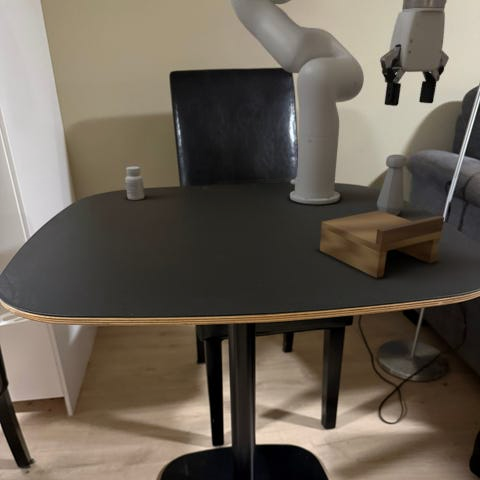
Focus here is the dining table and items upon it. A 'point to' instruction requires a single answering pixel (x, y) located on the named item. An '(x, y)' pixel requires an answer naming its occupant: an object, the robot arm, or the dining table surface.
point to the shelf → (379, 239)
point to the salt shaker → (393, 186)
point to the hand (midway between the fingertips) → (408, 104)
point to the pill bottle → (134, 183)
